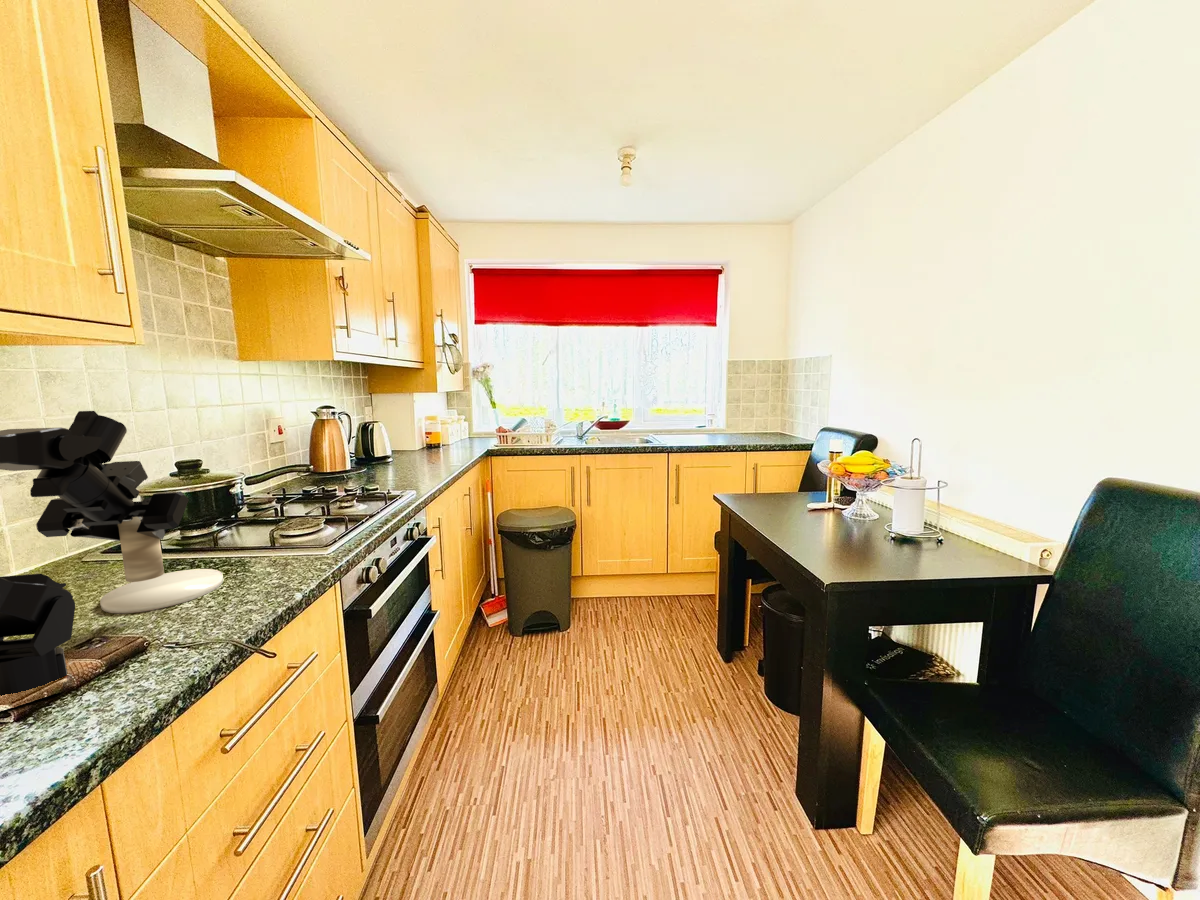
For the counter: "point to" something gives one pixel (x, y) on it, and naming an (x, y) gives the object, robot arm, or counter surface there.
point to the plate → (161, 591)
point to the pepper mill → (139, 552)
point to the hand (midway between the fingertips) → (145, 537)
